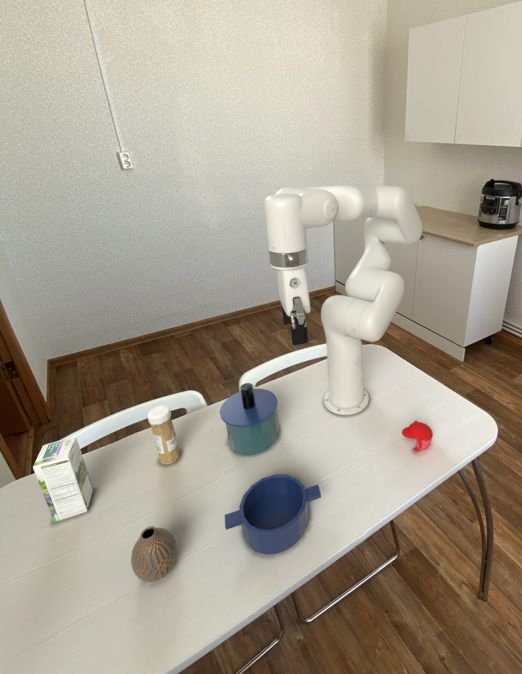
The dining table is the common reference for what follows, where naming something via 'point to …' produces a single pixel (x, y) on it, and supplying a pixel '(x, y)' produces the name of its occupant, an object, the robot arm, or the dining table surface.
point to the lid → (248, 406)
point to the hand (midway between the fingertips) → (295, 332)
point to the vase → (154, 554)
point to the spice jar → (164, 434)
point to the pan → (273, 513)
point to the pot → (254, 436)
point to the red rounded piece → (419, 434)
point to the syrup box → (63, 478)
